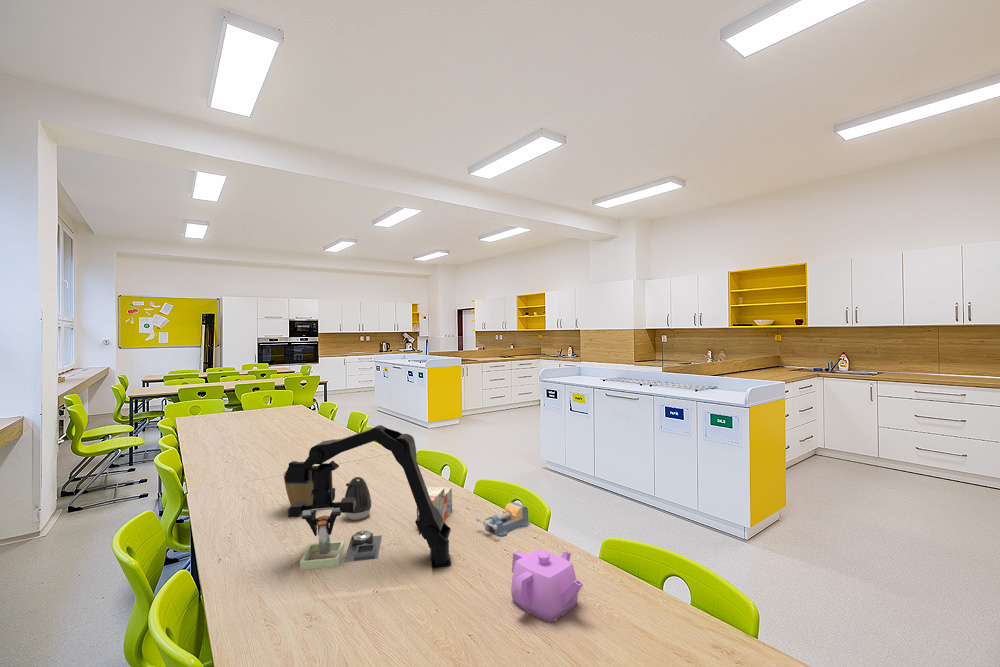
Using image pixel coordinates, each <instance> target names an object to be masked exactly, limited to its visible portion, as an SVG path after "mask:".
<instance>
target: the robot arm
mask: <svg viewBox="0 0 1000 667" xmlns="http://www.w3.org/2000/svg"><path fill="white" fill-rule="evenodd" d="M372 442H376V443H378V444H379V445H381V446H382V447H383V448H384V449H386V450H387V451H389V452H391V454H392V455H393V457H394V459H395V461H396V462H397V463H398V464H399V465H400V467H401V468H402V469H403V472H404V474H405V477H406V480H407V484H408V485H409V488H410V491H411V493H412V497H413V500H414V502H415V505H416V509H417V508H418V510H419V516H418V517H417V516H416V519H415V522H414V523H415V525H416V528H417V527H418V529H419V531H418V535H419V536H420V535H421V536H422V538H423V540H426V543H427V544H428V548H429V560H430V562H431V568H432V569H434V568H442V567H449V566H450V567H451V566H452V561H451V554H450V540H449V537H450V534H451V530H452V529H451V527H450V526H448V524H447V523H445V521H444V520H443V518H442V516H441V514H440V513H439V511H438V510H437V509H436V507H435V506H434V505H433V504H432V502H431V499H430V496H429V494H428V491H427V489H428V488H427V486H426V483H425V480H424V477H423V475H422V472H421V469H420V467H419V463H418V460H417V459H418V458H417V447H416V441H415V438H414V437H413V436H412V435H411V434H408V433H402V432H400V431H398V430H394V429H390V428H388V427H385V426H384V425H381V424H380V425H379V424H378V425H376V426H374V427H372V428H369V429H367V430H363V431H360V432H357V433H355V434H352V435H349V436H346V437H344V438H340V439H329V440H323V441H321V442H319V443H317V444H316V445H314V446H312V447H310V449H309V451H308V456H307V458H306V459H305V461H298V460H291V461H290V462H289V463H288V467H287V469H286V471H285V472H286V475H285V481H284V483H285V482H286V484H288V485H291V484H308V483H309V481H311V480H312V492H311V497H312V498H313V504H309V505H306V501H299V502H293V504H292V505H290V506H289V508H288V509H287V518H289V519H290V518H299V517H300V516H301V520H305V521H306V523H307V524H308V525H309V527H310V529H311V530H312V533H313V534H314V536H315V537H318V536H317V535H318V526H317V525H315V519H316V518H317V516H316V515H317V511H326V510H331V512H330V514H329V516H330V523H329V535H332V532H333V529H334V525H335V522H336V519H337V517H339V516H341V515H342V514H345V513H348V512H353V511H354V508H355V506H356V500H355V498H354V497H348V498H345V497H342V499H341V501H335V499H336V488H335V487H333V471H335V470H337V469H338V468H340V465H339V464H338V463H337V462H335V461H334V460H331V459H333V458H334V457H336V456H338V455H339V454H341V453H344V452H347V451H349V450H353V449H356V448H358V447H361V446H364V445H367V444H370V443H372ZM329 460H331V461H330V462H327V461H329ZM333 501H335V502H333ZM302 512H303V515H301V514H302Z"/></svg>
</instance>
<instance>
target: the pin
mask: <svg viewBox="0 0 1000 667" xmlns="http://www.w3.org/2000/svg"><path fill="white" fill-rule="evenodd" d="M329 523H330V515H322V516H318V517H316V519H315V525H317V535H318V536H317V537H318V543H319V551H318V552H319V554H320V555H326V554H328V553H329V554H330V552H331V551H332V550H331V548H330V542H331V536H330V535H329Z"/></svg>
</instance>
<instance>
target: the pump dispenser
mask: <svg viewBox="0 0 1000 667" xmlns="http://www.w3.org/2000/svg"><path fill="white" fill-rule="evenodd" d="M345 486H346V491H345V495H344V498H348V497H354V498H355V500H356V506H355V508H354V511H353V512H348V513H344V515H345V516H346V517H347V518H348V519H349V520H353V521H359V520H362V519H365V518H366V517H367V516H368V515H369V513H370V512H371V509H372V498H371V493H370V490H369V486H368V484H367V483H366V480H364V478H363V477H361V476H355V477H353V478H351V480H350V481H349V482H347V483H345Z"/></svg>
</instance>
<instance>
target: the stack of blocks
mask: <svg viewBox="0 0 1000 667" xmlns="http://www.w3.org/2000/svg"><path fill="white" fill-rule="evenodd" d="M427 491H428V494H429V496H430V499H431V502H432V504H433V505H434V506H435V507H436V509H437V510H438V511H439V513H440V514H441V516H442V518H443V520H444V522H445V521H446V519H447V518H448V517H449V516H450V514H451V513H452V512H453V494H452V493H453V492H452V487H451V486H450V487H448V486H435V487H433V486H429V487H428V488H427ZM418 516H419V510H418V508H417V507H416V518H417V517H418ZM416 531H417V532H419V529H418V527H417V526H416Z"/></svg>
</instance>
